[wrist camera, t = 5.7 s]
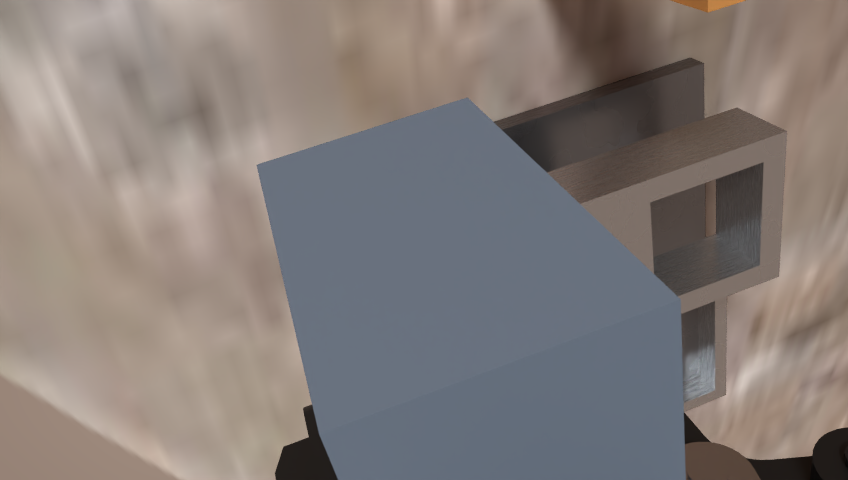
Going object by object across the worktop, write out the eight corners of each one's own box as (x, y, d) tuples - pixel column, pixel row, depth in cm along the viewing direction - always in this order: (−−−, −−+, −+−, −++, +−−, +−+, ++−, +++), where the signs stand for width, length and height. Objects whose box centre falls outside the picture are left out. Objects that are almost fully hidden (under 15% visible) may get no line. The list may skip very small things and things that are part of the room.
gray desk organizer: (694, 56, 34) (972, 171, 22) (699, 374, 44) (890, 567, 33) (357, 166, 32) (468, 361, 20) (446, 475, 42) (553, 723, 30)
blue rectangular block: (467, 97, 12) (680, 299, 7) (543, 493, 17) (694, 770, 12) (256, 164, 11) (319, 434, 6) (401, 551, 17) (497, 863, 12)
